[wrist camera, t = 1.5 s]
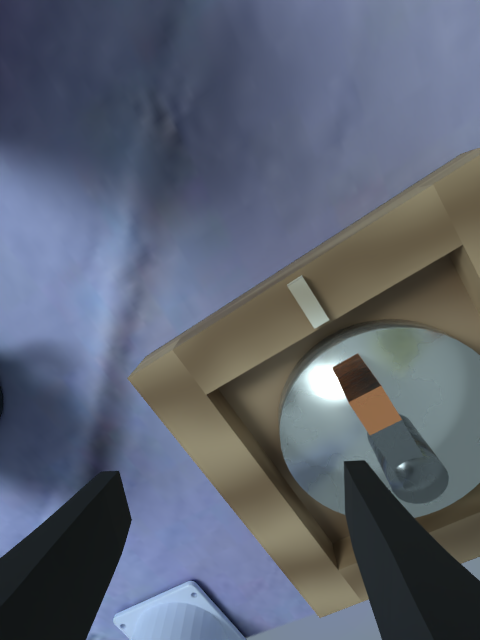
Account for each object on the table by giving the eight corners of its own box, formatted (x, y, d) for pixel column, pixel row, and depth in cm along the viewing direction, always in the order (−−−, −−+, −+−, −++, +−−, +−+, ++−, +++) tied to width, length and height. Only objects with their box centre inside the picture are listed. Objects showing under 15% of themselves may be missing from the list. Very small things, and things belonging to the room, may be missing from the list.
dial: (521, 446, 19) (607, 521, 14) (340, 526, 22) (362, 613, 17) (431, 276, 17) (498, 298, 12) (239, 387, 19) (232, 442, 15)
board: (600, 451, 21) (666, 496, 17) (313, 572, 25) (321, 626, 21) (461, 153, 17) (511, 136, 13) (145, 356, 21) (123, 382, 17)
